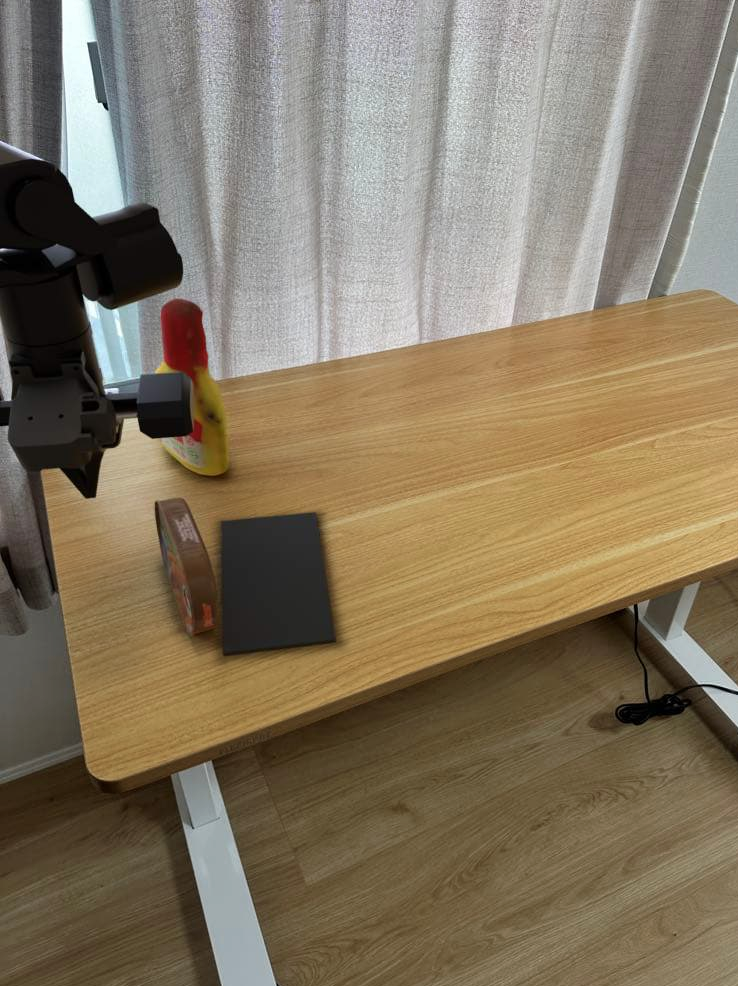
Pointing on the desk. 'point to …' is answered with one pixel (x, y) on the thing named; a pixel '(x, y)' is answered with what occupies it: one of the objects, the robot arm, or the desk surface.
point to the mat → (274, 584)
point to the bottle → (190, 356)
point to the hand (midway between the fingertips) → (91, 495)
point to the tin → (187, 565)
